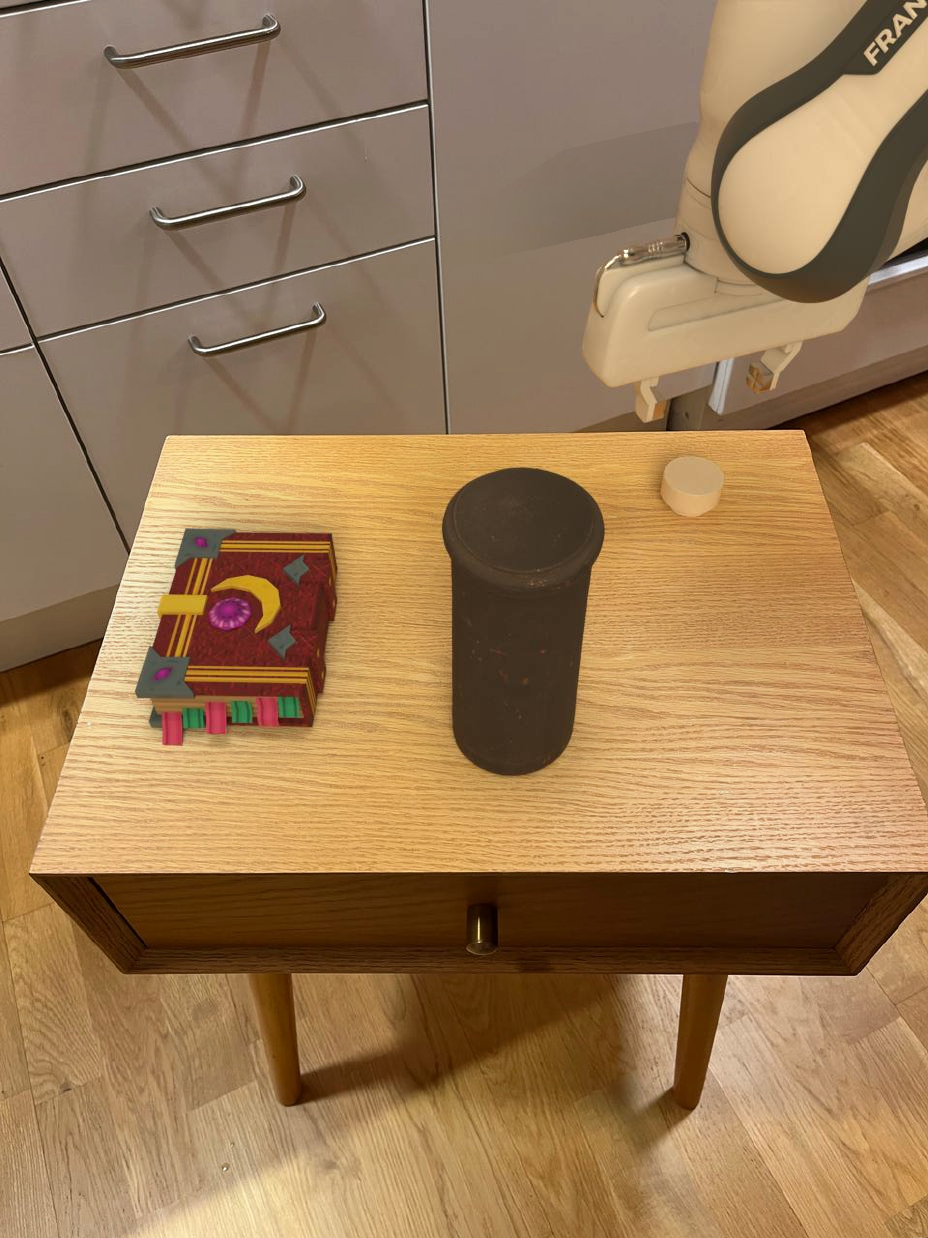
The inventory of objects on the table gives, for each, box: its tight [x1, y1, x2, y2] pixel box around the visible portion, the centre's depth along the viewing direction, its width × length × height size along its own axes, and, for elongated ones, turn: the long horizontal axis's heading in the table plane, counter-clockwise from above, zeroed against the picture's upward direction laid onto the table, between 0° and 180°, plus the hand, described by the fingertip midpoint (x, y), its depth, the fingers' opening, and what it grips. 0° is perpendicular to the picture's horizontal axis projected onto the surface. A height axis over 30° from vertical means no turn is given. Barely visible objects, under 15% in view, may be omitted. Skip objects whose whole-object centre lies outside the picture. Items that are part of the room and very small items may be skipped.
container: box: [441, 466, 606, 777], centre depth 57 cm, size 9×9×20 cm
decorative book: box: [134, 527, 338, 746], centre depth 68 cm, size 11×16×5 cm
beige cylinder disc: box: [659, 455, 726, 518], centre depth 78 cm, size 5×5×3 cm
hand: (704, 401), depth 71 cm, fingers open, 8 cm apart
